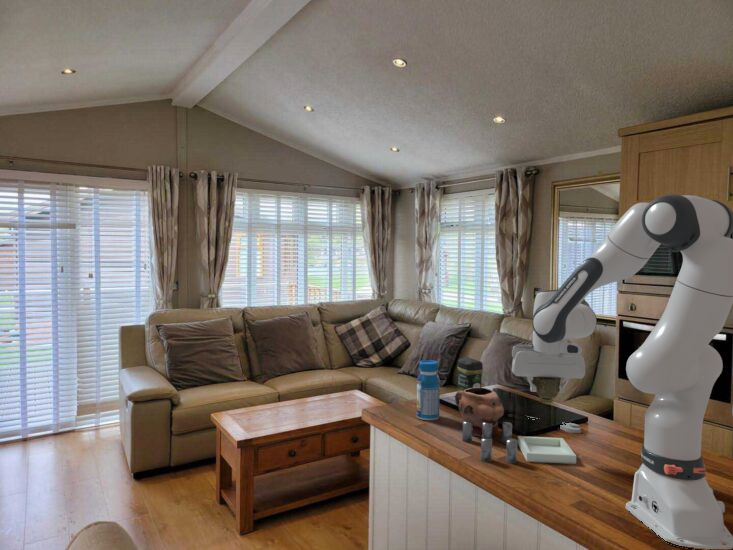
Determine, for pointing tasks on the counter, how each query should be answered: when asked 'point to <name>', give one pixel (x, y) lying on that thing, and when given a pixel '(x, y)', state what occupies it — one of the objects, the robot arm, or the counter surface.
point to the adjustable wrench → (568, 427)
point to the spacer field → (487, 440)
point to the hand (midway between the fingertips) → (547, 391)
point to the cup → (547, 388)
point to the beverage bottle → (428, 390)
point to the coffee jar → (469, 374)
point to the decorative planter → (480, 408)
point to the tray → (546, 450)
